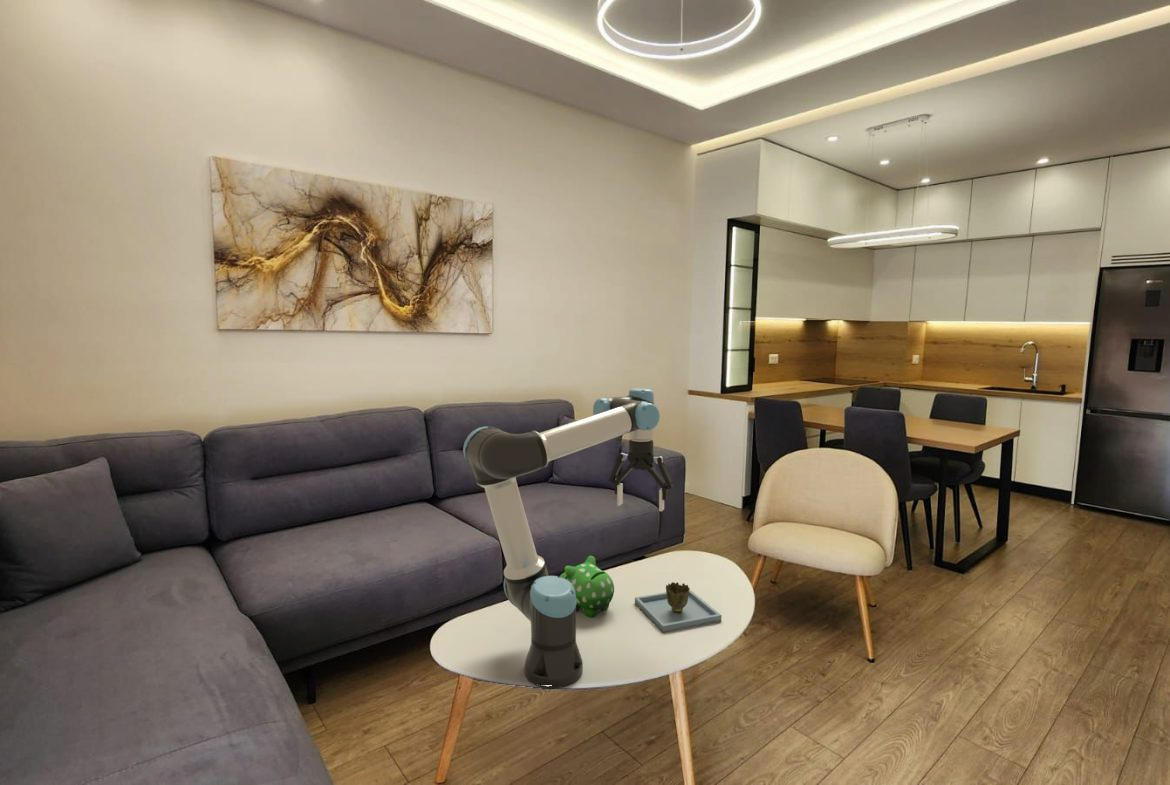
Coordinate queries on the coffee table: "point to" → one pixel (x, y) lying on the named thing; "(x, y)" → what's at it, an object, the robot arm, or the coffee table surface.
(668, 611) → the tray
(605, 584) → the piggy bank
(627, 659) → the coffee table surface
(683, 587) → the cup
